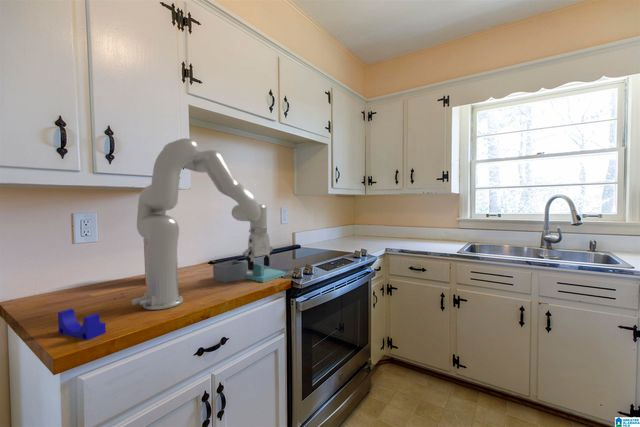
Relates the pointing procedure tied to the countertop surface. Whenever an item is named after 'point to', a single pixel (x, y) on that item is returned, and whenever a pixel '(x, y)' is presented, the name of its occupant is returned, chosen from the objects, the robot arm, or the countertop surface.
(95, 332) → the cable clip
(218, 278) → the tub
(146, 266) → the cracker box
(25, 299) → the countertop surface
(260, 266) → the lid
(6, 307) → the countertop surface
